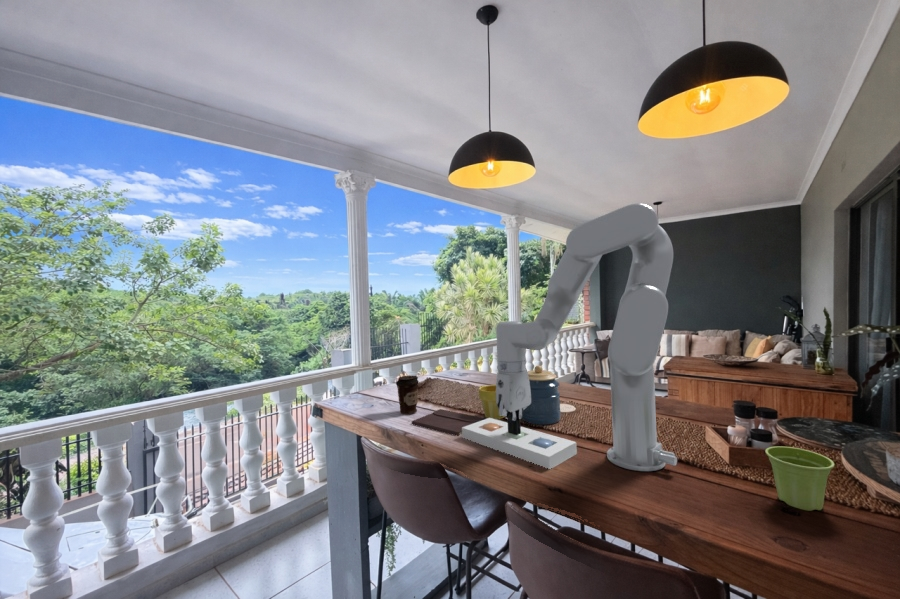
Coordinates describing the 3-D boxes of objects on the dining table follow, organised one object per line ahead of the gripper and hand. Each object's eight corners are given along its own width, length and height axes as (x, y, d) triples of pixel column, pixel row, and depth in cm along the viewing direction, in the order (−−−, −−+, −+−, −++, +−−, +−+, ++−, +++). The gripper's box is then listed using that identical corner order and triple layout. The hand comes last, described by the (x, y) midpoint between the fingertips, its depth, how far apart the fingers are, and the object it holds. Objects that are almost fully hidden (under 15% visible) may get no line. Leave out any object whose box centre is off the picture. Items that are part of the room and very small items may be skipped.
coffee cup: (425, 410, 139) (423, 375, 139) (411, 417, 132) (409, 380, 132) (406, 408, 143) (405, 374, 143) (392, 414, 136) (390, 378, 136)
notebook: (458, 437, 112) (457, 431, 112) (411, 426, 124) (411, 420, 124) (486, 423, 123) (486, 417, 123) (441, 413, 136) (440, 408, 136)
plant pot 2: (833, 500, 70) (831, 453, 70) (839, 524, 63) (836, 472, 63) (768, 485, 76) (766, 442, 76) (766, 505, 69) (764, 458, 69)
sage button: (527, 443, 102) (527, 432, 102) (516, 449, 99) (516, 437, 99) (514, 439, 106) (513, 428, 106) (503, 444, 103) (502, 433, 103)
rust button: (502, 435, 109) (502, 425, 109) (491, 440, 106) (491, 430, 106) (490, 432, 113) (490, 422, 113) (479, 436, 110) (479, 426, 110)
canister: (513, 416, 127) (510, 365, 127) (543, 410, 132) (541, 360, 132) (537, 428, 115) (534, 370, 115) (569, 420, 121) (567, 366, 121)
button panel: (576, 453, 95) (576, 442, 95) (549, 469, 87) (549, 456, 87) (490, 427, 118) (489, 417, 118) (462, 437, 110) (461, 427, 110)
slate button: (556, 453, 96) (556, 441, 96) (545, 459, 93) (545, 447, 93) (540, 448, 99) (540, 436, 99) (529, 453, 96) (529, 442, 96)
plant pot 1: (500, 410, 135) (499, 383, 135) (516, 418, 126) (514, 389, 126) (474, 414, 131) (473, 387, 131) (489, 423, 122) (487, 393, 122)
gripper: (504, 372, 95) (507, 444, 95) (539, 364, 105) (541, 429, 105) (482, 369, 101) (485, 437, 101) (518, 361, 110) (520, 423, 111)
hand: (514, 433), depth 103 cm, fingers closed
